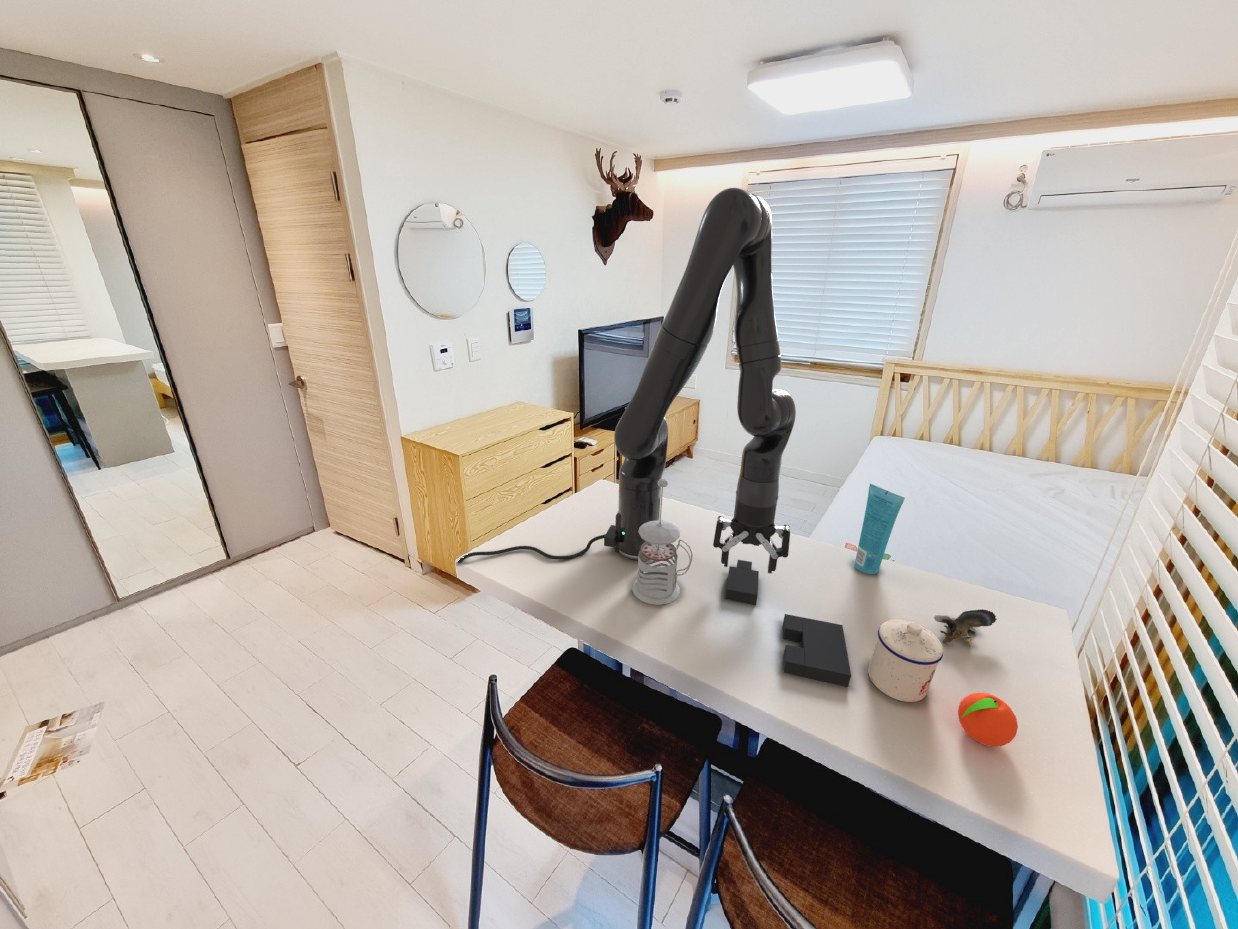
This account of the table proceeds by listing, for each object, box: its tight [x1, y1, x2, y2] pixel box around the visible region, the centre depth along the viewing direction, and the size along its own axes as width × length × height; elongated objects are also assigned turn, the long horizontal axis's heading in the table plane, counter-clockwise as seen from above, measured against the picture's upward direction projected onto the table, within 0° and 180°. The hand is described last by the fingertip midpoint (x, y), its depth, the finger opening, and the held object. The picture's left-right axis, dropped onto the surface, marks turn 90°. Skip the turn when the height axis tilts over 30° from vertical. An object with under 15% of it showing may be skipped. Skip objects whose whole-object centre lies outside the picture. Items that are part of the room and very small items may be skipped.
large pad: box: [782, 613, 852, 688], centre depth 87 cm, size 10×12×2 cm
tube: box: [854, 483, 906, 575], centre depth 107 cm, size 7×5×19 cm, turn 39°
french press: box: [631, 478, 694, 606], centre depth 97 cm, size 10×12×25 cm
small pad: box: [724, 559, 760, 606], centre depth 104 cm, size 11×6×2 cm, turn 164°
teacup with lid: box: [867, 619, 944, 703], centre depth 81 cm, size 12×9×12 cm
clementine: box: [957, 692, 1019, 747], centre depth 72 cm, size 8×7×7 cm
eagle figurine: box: [933, 609, 998, 646], centre depth 91 cm, size 8×7×9 cm
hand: (747, 567), depth 101 cm, fingers open, 8 cm apart
